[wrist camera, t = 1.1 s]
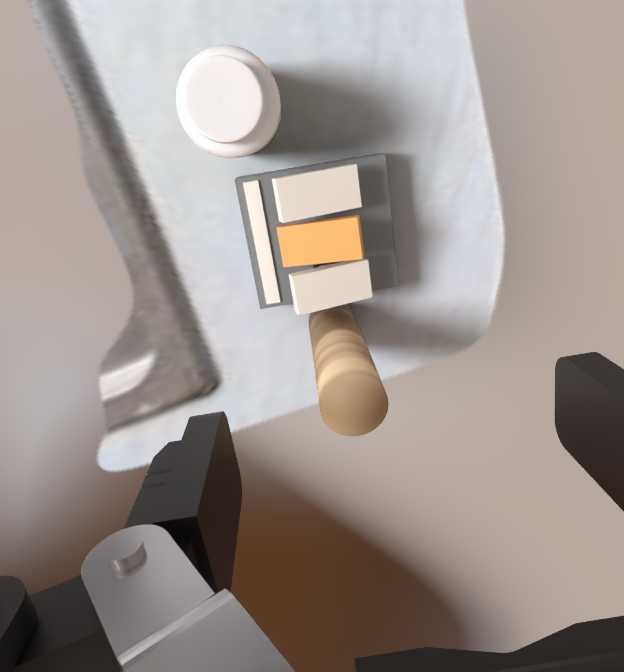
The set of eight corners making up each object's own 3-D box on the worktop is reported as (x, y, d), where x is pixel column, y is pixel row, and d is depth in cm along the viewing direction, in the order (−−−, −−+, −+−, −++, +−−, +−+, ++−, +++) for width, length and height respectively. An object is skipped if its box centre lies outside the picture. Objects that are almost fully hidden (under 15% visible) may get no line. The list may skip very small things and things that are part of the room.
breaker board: (237, 176, 36) (232, 180, 33) (378, 153, 36) (389, 154, 33) (261, 299, 40) (259, 314, 36) (391, 277, 40) (402, 291, 36)
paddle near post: (286, 272, 34) (292, 276, 33) (359, 256, 35) (368, 259, 34) (293, 310, 35) (299, 315, 34) (364, 292, 36) (372, 297, 35)
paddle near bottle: (270, 178, 32) (275, 178, 31) (348, 164, 33) (356, 164, 32) (277, 220, 33) (283, 222, 32) (353, 205, 34) (361, 206, 33)
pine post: (305, 303, 40) (315, 381, 27) (351, 295, 40) (384, 369, 27) (312, 346, 41) (325, 440, 28) (357, 339, 41) (391, 430, 28)
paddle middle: (282, 223, 34) (276, 227, 33) (360, 213, 33) (357, 217, 32) (288, 261, 35) (283, 267, 34) (365, 253, 34) (362, 259, 33)
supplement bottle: (195, 65, 34) (160, 33, 24) (280, 65, 34) (279, 34, 25) (201, 155, 36) (170, 159, 26) (282, 155, 36) (281, 159, 27)
